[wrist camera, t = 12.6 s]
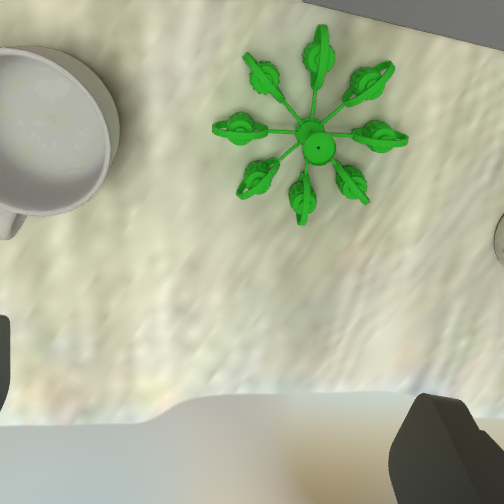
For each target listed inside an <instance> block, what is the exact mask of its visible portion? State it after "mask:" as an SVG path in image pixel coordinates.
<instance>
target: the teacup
mask: <svg viewBox="0 0 504 504" xmlns="http://www.w3.org/2000/svg"><path fill="white" fill-rule="evenodd" d="M119 137H120V124H119V117H118V112H117V109H116V106H115V104H114V101H113V99H112V97H111V95H110V93H109V91H108V90H107V88H106V86H105V85H104V84H103V82H102V81H101V80H100V79H99V77H98V76H97V75H96V74H95V73H94V72H93V71H92V70H91V69H89V68H88V67H87V66H86V65H85V64H83V63H82V62H80V61H79V60H77V59H75V58H74V57H72V56H70V55H68V54H65V53H63V52H61V51H58V50H54V49H50V48H46V47H39V46H18V47H0V239H1V240H10V239H11V238H13V237H14V236H15V235H16V233H17V232H18V231H19V229H20V228H21V226H22V224H23V223H24V221H25V219H26V217H27V215H33V216H51V215H58V214H62V213H66V212H69V211H71V210H73V209H76V208H78V207H79V206H81V205H83V204H84V203H85V202H87V201H88V200H89V199H90V198H91V197H92V196H93V195H94V194H95V193H96V192H97V191H98V189H99V188H100V187H101V185H102V183H103V181H104V179H105V177H106V175H107V173H108V170H109V168H110V166H111V164H112V162H113V160H114V157H115V155H116V152H117V148H118V144H119Z"/></svg>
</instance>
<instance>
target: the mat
mask: <svg viewBox="0 0 504 504" xmlns="http://www.w3.org/2000/svg"><path fill="white" fill-rule="evenodd" d="M303 2H306V3H310V4H314V5H319V6H323V7H327V8H331V9H335V10H339V11H343V12H347V13H351V14H355V15H359V16H364V17H368V18H372V19H376V20H380V21H384V22H388V23H392V24H396V25H400V26H405V27H409V28H413V29H417V30H421V31H425V32H429V33H433V34H437V35H441V36H445V37H450V38H454V39H458V40H462V41H466V42H470V43H474V44H478V45H482V46H486V47H491V48H495V49H499V50H503V51H504V0H303Z"/></svg>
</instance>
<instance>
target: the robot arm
mask: <svg viewBox="0 0 504 504" xmlns="http://www.w3.org/2000/svg"><path fill="white" fill-rule="evenodd" d="M494 244H495V252H496V255H497V257H498V259H499V261H500V262H501V263H502V265H503V266H504V216H503V217H502V219H501V221H500V222H499V225H498V227H497V230H496V233H495V240H494ZM9 385H10V321H9V318H8V317H7V316H4V315H0V411H1V409H2V407H3V404H4V402H5V399H6V396H7V393H8V389H9ZM388 462H389V463H388V464H389V465H388V467H389V475H390V479H391V482H392V485H393V489H394V492H395V496H396V499H397V502H398V504H504V451H503V450H502V449H501V448H500V447H499V445H497V443H496V442H495V441H494V440H493V439H492V438H491V437H490V436H489V435H488V434H487V433H486V432H485V431H482V430H479V428H478V426H477V425H476V423H475V421H474V419H473V417H472V415H471V414H470V412H469V410H468V408H467V406H466V405H465V404H464V403H463V402H462V401H461V400H458V399H453V398H448V397H442V396H437V395H431V394H426V393H422V394H420V395H418V396H417V398H416V399H415V401H414V402H413V404H412V406H411V408H410V410H409V412H408V414H407V416H406V418H405V420H404V422H403V424H402V426H401V428H400V429H399V431H398V433H397V435H396V437H395V439H394V441H393V443H392V445H391V449H390V452H389V461H388Z"/></svg>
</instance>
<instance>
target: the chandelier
mask: <svg viewBox="0 0 504 504" xmlns="http://www.w3.org/2000/svg"><path fill="white" fill-rule="evenodd" d="M328 42H329V35H328V27H327V25H320V24H319V25H318V27H317V29H316V33H315V37H314V42H312V43H309V44H308V46H307V47H306V48H304V52H305V53H303V55H302V57H303V63H304V64H305V66H306V69H308V70H309V71H311V87H312V89H314V91H313V100H312V109H311V118H306V119H304V120H301V119H300V118H299V116H298V115H297V114H296V113H295V112H294V110H293V109H292V108H291V107H290V106H289V104H288V103H287V102H286V101H285V99H286V98H285V96H284V95H283V94H282V92H281V91H280V90H279V88H278V87H277V85H278V83H279V82H280V81H279V79H278V78H279V73H278V71H277V69H276V67H275V66H274V65H271V63H270V62H265V61H262V62H257V61H256V60H255V59H254V58H253V57H252V56H251V55H250V54H249V53H248V52H247V53H246V54H244V55H243V56H242V57H243V59H244V61H245V62H246V63H247V65H248V66H249V67H250V69H251V70H252V71H251V72H250V73H249V74H250V84H251V85H252V86H253V90H256V91H257V92H258V93H259V94H261V93H262V94H265V95H266V94H268V93H271V94H272V95H273V96H274V97H275V98H276V100H277V101H278V102H280V103H282V102H283V104H284V105H285V106H286V107H287V108H288V110H289V111H290V112H291V113H292V114H293V116H294V117H295V118H296V119H297V120H298V122H299V124H298V125H297V127H296V131H287V130H269V129H268V127H267V126H266V125H263V124H260V123H256V122H252V118H251V117H249V116H248V114H245V113H242V112H240V113H239V114H238V113H235V114H234V115H233V116H230V120H229V121H220V122H216V123H214V124H213V125H212V132H213V133H214V134H215V135H218V136H221V137H225V138H229V140H230V141H231V142H232V143H233V144H236V145H245V144H247V143H248V142H250V141H251V139H260V138H264V137H266V136H267V135H268V133H282V134H295V135H296V139H297V141H298V142H297V143H296V144H295V145H294V146H293V147H292V148H290V149H289V150H288V151H287V152H286V153H285V154H283V155H282V156H281V157H280V158H279V159H278V160H277V159H276V158H270V159H268V160H266V161H265V162H263V163H262V162H260V161H254V162H252V163H250V164H249V165H248V167H247V168H246V169H245V174H244V181H243V182H242V183H241V184H240V186H239V187H238V189H237V192H236V195H237V196H238V197H239V198H240V199H241V200H244V199H247V198H249V197H251V196H253V195H254V194H263V193H265V192H266V191H267V190H268V189H269V187H270V186H271V184H270V183H271V181H272V178H273V176H274V175H275V174H276V172H277V171H278V169H279V167H280V163H279V162H280V161H281V160H282V159H284V158H285V157H286V156H287V155H288V154H289V153H291V152H292V151H293V150H294V149H295V148H296V147H298V146H299V145H300V144H301V145H303V146H302V152H303V155H304V157H305V159H306V163H305V172H304V173H301V174H300V177H299V183H296V184H294V185H293V186H292V187H291V188H290V191H289V193H288V194H289V201H290V205H291V207H292V208H293V209H294V211H295V212H296V217H297V224H298V225H305V224H306V222H307V218H308V214H310V213H312V212H313V211H314V209H315V207H316V203H317V201H316V194H315V192H314V189H312V188H311V185H310V178H309V174H308V173H307V172H308V164H309V163H310V164H312V165H316V166H321V165H325V164H327V163H328V162H330V161H332V163H333V166H334V168H335V169H336V171H337V172H338V174H337V176H336V183H337V185H338V188H339V189H340V191H341V193H342V194H343V195H345V196H346V197H348V198H350V199H358V198H359V200H360V201H361V202H362V203H363V204H364V205H365V206H366V205H367V204H369V203H370V200H369V199H368V197H367V196H366V194H365V192H366V189H367V185H366V182H367V181H366V180H365V178H364V176H363V174H362V173H361V172H360V170H358V169H356V167H352V166H347V167H343V166H342V165H341V164H340V162H339V161H337V162H336V161H335V160H334V159H333V157H334V155H335V152H336V144H335V141H334V140H333V138H332V137H331V136H338V137H351V138H352V139H353V140H354V141H356V142H359V143H362V144H366V145H367V146H368V147H369V148H370V149H371V150H372V151H375V152H378V153H386V152H388V151H390V150H391V149H392V148H393V147H403V146H406V145H407V143H408V139H409V137H408V136H407V135H405V134H403V133H400V132H397V131H394V130H393V129H392V128H391V127H390V126H389V125H388V124H387V123H385V122H384V121H379V120H375V121H371V122H369V123H368V124H366V126H365V127H364V128H358V129H354V130H353V131H352V134H343V133H326V132H324V126H323V124H324V123H326V122H327V121H328V120H329V119H330V118H331V117H333V116H334V115H335V114H336V113H337V112H338V111H340V110H341V109H342V108H343V107H344V106H345V105H346V106H347V107H352V106H355V105H357V104H359V103H361V102H362V101H364V100H373V99H376V98H378V97H379V96H380V95H381V94H382V92H383V90H384V87H385V83H386V82H387V81H388V80H389V79H390V77H391V76H392V75H393V73H394V71H395V66H394V65H393V63H392V62H391V61H385V62H382V63H380V64H378V65H377V66H375V67H373V68H370V67H365V68H363V67H361V68H360V69H358V70H356V71H355V72H354V74H353V75H352V76H351V80H350V85H351V87H350V88H349V89H348V90H347V91H346V93H345V94H344V96H343V98H342V101H343V104H341V105H340V106H339V107H338V108H337V109H336V110H335V111H333V112H332V113H331V114H330V115H329V116H328V117H326V118H325V119H324V120H323V121H322V122H320V121H319V120H318V119H316V118H314V111H315V103H316V94H317V89H320V88H321V86H322V84H323V80H324V76H325V72H328V71H329V70H330V69H331V68H332V67H333V64H334V61H335V52H334V51H333V50H332V47H331V46H330V45H328ZM386 68H388V69H387V70H386V72H385V73H384V74H383V75H382V76H381V74H380V71H382V70H384V69H386ZM356 75H357V76H356ZM353 93H354V94H355V95H356V97H355V98H353V99H350V97H351V96H352V94H353ZM349 99H350V100H349ZM238 119H239V120H238ZM248 122H249V123H248ZM381 127H382V128H381ZM220 128H227V130H222V129H220ZM254 129H257V130H260V131H258V132H254ZM376 129H377V130H376ZM375 130H376V131H375ZM372 133H373V134H372ZM361 135H362V136H361ZM371 135H372V136H371ZM396 138H397V139H400V140H396ZM272 164H273V166H272V168H271V169H269V167H268V166H270V165H272ZM257 169H258V170H257ZM256 170H257V171H256ZM353 175H354V176H353ZM343 182H344V183H343ZM297 184H298V185H297ZM246 187H247V188H248V191H246V192H245V193H243V191H244V189H245V188H246ZM298 187H299V188H298ZM301 192H302V193H301Z"/></svg>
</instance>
